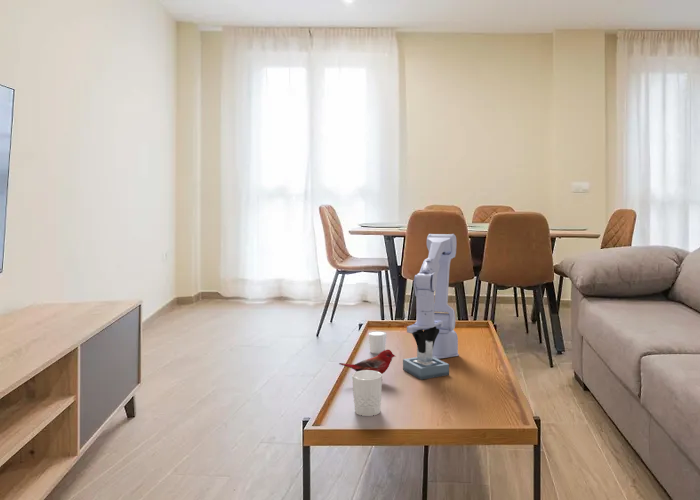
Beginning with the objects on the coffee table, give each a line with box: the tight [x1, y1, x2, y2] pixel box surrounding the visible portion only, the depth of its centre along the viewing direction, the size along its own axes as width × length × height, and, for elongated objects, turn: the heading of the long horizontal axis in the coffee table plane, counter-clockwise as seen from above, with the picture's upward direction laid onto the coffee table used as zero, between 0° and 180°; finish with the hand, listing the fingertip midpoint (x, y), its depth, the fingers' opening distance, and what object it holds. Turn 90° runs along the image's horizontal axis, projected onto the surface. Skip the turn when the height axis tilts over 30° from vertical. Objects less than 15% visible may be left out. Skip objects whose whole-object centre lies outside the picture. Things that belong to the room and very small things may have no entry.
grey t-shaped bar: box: [413, 340, 437, 367], centre depth 167 cm, size 5×6×8 cm
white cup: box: [351, 370, 383, 417], centre depth 136 cm, size 8×8×10 cm
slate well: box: [402, 356, 450, 381], centre depth 168 cm, size 10×11×4 cm
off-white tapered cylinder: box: [368, 330, 387, 354], centre depth 193 cm, size 7×7×7 cm
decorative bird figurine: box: [338, 349, 397, 375], centre depth 159 cm, size 3×18×10 cm, turn 94°
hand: (425, 351), depth 167 cm, fingers closed on grey t-shaped bar, 3 cm apart
